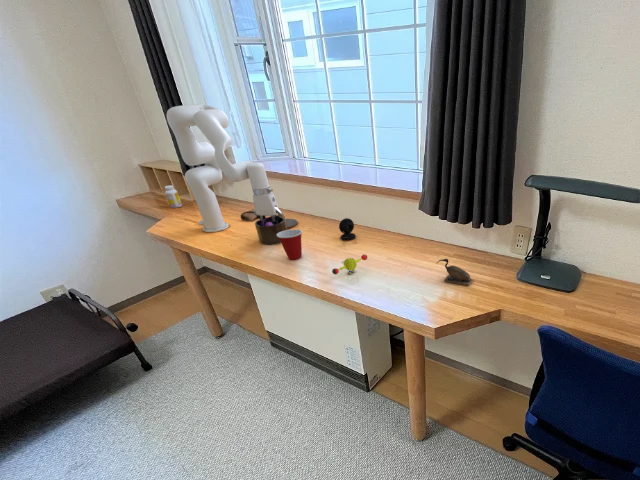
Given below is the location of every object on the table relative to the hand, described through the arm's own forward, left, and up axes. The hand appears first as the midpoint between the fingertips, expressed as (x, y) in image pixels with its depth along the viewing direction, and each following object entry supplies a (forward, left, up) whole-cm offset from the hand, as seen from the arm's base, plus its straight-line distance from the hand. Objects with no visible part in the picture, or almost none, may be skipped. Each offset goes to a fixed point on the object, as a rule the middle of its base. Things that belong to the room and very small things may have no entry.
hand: (271, 227), depth 177 cm
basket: (0, 0, -6) cm, 6 cm away
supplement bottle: (-90, +48, -6) cm, 102 cm away
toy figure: (+49, -32, -6) cm, 59 cm away
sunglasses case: (-26, +33, -6) cm, 42 cm away
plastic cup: (+19, -19, -6) cm, 28 cm away
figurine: (+91, -35, -6) cm, 98 cm away
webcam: (+37, +4, -6) cm, 38 cm away
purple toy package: (0, 0, -1) cm, 1 cm away
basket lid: (-4, +19, -5) cm, 20 cm away
